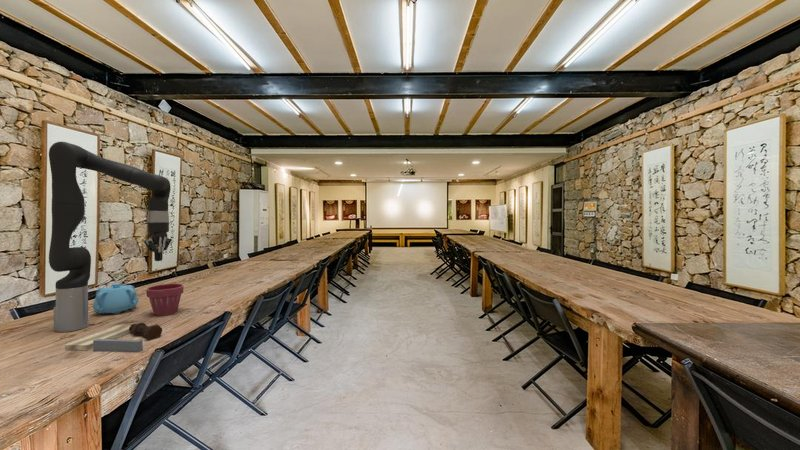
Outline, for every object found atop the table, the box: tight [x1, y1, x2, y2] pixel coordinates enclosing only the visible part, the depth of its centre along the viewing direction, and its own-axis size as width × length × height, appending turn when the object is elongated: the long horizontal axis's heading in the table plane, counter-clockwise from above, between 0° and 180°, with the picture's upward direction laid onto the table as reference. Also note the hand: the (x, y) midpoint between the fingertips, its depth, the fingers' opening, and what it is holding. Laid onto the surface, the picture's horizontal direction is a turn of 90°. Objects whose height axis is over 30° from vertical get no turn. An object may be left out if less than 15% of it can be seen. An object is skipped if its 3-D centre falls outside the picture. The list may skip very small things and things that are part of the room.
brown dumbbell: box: [129, 322, 163, 341], centre depth 124 cm, size 6×5×15 cm
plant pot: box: [146, 283, 184, 317], centre depth 152 cm, size 14×14×13 cm
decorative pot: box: [92, 282, 139, 315], centre depth 154 cm, size 16×16×14 cm
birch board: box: [64, 324, 132, 351], centre depth 119 cm, size 8×20×2 cm, turn 179°
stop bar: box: [92, 338, 144, 353], centre depth 110 cm, size 16×2×4 cm, turn 89°
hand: (158, 260), depth 139 cm, fingers closed
